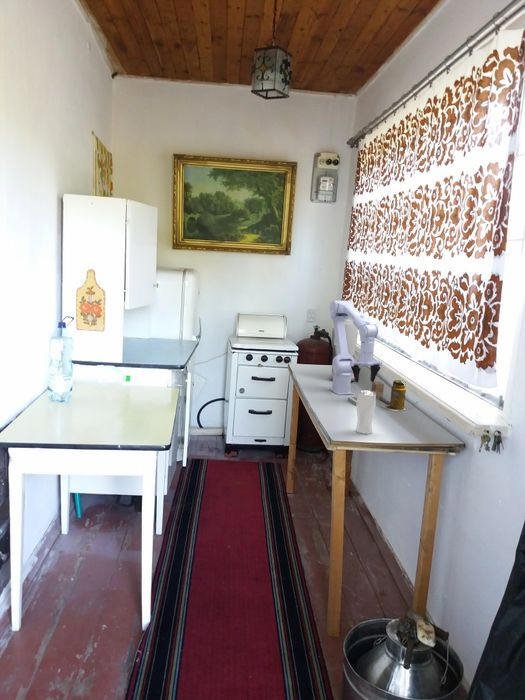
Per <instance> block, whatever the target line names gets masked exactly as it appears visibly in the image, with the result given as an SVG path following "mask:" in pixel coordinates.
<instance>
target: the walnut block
mask: <svg viewBox="0 0 525 700" xmlns="http://www.w3.org/2000/svg"><path fill="white" fill-rule="evenodd" d="M384 387H385V384H384V383H383V382H381V381H374V382H372V381H371V390H370V391H372V392H375V393H376V400H377V399H378V400H380V399H379V397H382V398H384Z"/></svg>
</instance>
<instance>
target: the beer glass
mask: <svg viewBox="0 0 525 700" xmlns="http://www.w3.org/2000/svg"><path fill="white" fill-rule="evenodd" d="M376 405H377V399H376V393H375V392H372V391H371V390H358V391H357V406H356V416H357V418H356V419H357V423H356V427H355V432H356V433H358V434H363V435H371V434H372V433H373V427H372V423H373V418H374V415H375V412H376V407H377V406H376Z"/></svg>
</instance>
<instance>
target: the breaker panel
mask: <svg viewBox="0 0 525 700" xmlns="http://www.w3.org/2000/svg"><path fill="white" fill-rule="evenodd" d="M357 396H358V395H357ZM357 396H355V397H354V396H353V397H352V396H351V397H347V401H348V402H349V403H351V404H352V405H354V406H356V407H357Z"/></svg>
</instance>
